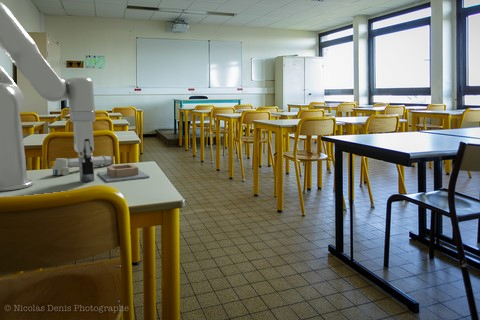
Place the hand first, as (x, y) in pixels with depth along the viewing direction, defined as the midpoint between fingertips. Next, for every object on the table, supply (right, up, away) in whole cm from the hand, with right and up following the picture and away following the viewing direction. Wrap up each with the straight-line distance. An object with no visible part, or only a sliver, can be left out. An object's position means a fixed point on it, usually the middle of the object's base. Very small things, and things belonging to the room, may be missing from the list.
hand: (86, 172), depth 130 cm
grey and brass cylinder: (0, -3, 0) cm, 3 cm away
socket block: (+9, -1, +8) cm, 12 cm away
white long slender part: (-8, 0, +19) cm, 21 cm away
